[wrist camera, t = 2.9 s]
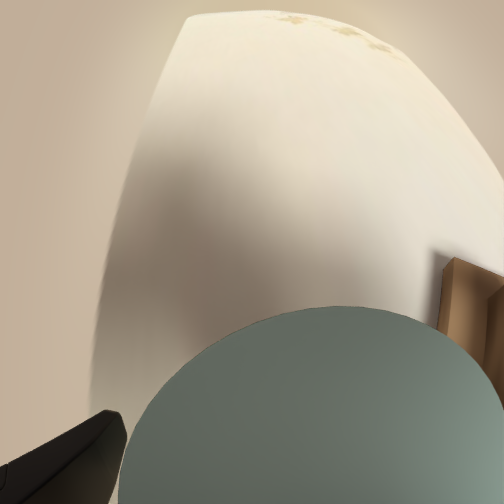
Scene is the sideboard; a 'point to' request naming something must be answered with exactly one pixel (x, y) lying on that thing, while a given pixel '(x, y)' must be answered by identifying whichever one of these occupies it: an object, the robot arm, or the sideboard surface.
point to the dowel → (322, 418)
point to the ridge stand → (475, 316)
